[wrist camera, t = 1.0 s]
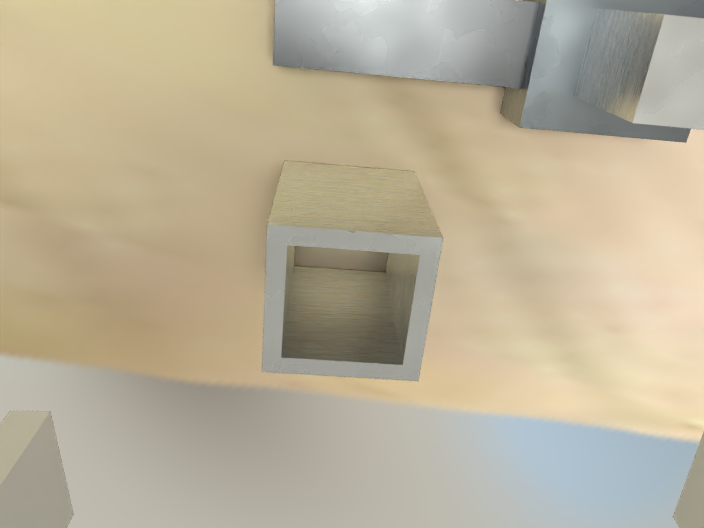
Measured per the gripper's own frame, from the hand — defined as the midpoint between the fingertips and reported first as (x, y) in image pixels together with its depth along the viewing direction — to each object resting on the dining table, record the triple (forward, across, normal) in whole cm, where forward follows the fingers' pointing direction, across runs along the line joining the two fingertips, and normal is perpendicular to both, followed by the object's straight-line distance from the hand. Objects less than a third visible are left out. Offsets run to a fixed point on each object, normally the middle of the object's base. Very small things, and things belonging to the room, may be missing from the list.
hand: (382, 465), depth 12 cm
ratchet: (+17, +5, +7) cm, 19 cm away
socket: (+17, 0, -2) cm, 17 cm away
